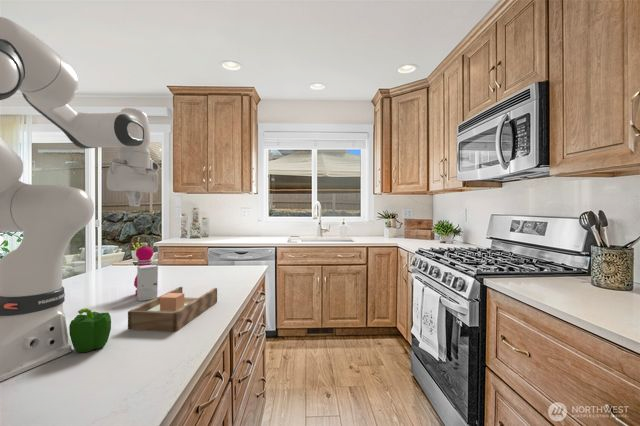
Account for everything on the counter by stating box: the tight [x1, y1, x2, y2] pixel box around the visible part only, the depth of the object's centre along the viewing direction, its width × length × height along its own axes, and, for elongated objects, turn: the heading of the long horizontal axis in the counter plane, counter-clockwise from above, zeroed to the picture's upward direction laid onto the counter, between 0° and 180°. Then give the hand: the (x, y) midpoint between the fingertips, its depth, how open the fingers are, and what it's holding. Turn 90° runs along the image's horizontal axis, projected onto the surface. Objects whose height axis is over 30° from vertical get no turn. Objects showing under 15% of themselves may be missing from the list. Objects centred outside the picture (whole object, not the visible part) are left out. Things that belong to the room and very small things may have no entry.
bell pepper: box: [68, 307, 112, 353], centre depth 78 cm, size 8×8×10 cm
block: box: [159, 292, 185, 311], centre depth 100 cm, size 5×5×4 cm
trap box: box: [127, 286, 218, 332], centre depth 103 cm, size 28×14×5 cm, turn 175°
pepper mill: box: [133, 242, 154, 296], centre depth 126 cm, size 7×7×20 cm
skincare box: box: [136, 264, 159, 302], centre depth 120 cm, size 6×4×12 cm
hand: (134, 206), depth 103 cm, fingers closed
